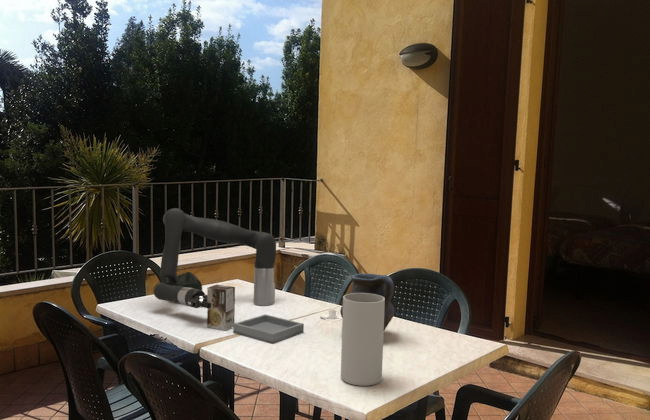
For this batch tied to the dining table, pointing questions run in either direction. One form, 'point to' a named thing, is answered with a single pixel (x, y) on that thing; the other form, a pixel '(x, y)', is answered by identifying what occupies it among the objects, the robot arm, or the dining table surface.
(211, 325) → the coffee box
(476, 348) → the dining table surface
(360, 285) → the pitcher
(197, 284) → the squash
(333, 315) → the teacup and saucer
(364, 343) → the cylinder vase
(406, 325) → the dining table surface
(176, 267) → the robot arm
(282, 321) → the tray
